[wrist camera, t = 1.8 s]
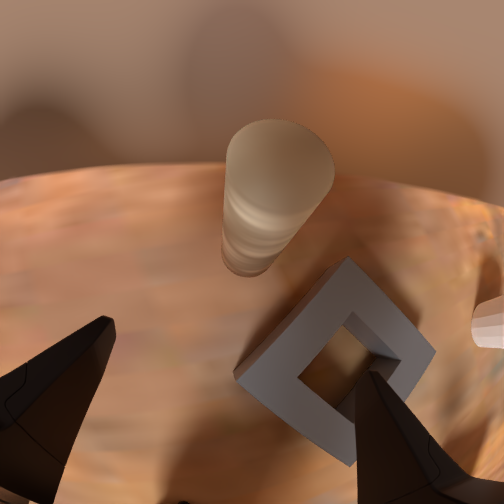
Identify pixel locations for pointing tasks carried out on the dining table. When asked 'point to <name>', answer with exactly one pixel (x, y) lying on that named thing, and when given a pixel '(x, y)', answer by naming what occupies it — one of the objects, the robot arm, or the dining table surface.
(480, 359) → the dining table surface
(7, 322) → the dining table surface
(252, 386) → the socket
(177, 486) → the dining table surface
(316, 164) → the peg
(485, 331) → the shot glass
